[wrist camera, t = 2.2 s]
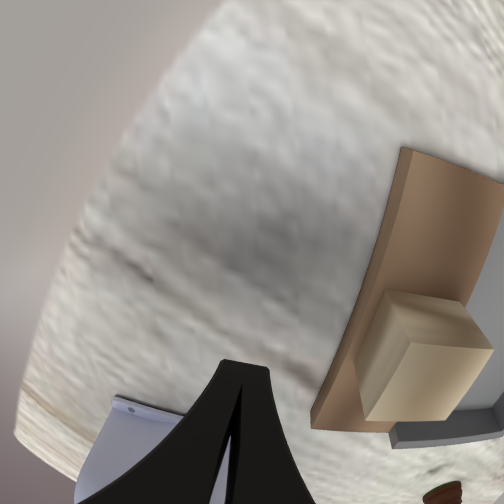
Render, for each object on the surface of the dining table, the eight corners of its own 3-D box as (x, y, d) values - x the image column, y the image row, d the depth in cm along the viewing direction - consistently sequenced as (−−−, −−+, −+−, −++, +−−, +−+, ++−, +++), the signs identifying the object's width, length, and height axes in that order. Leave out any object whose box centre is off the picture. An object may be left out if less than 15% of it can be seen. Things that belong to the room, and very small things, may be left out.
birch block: (353, 362, 14) (365, 420, 10) (384, 288, 12) (410, 342, 9) (424, 368, 14) (445, 420, 10) (459, 301, 12) (494, 349, 9)
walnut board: (310, 412, 17) (310, 428, 16) (401, 147, 11) (413, 150, 10) (384, 417, 17) (388, 432, 16) (493, 180, 11) (509, 187, 10)
